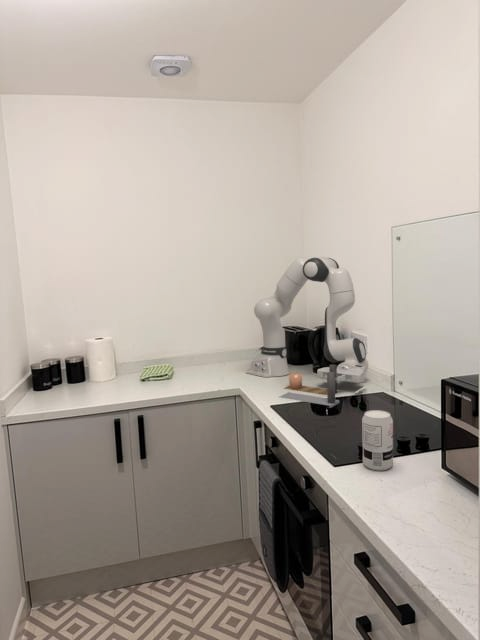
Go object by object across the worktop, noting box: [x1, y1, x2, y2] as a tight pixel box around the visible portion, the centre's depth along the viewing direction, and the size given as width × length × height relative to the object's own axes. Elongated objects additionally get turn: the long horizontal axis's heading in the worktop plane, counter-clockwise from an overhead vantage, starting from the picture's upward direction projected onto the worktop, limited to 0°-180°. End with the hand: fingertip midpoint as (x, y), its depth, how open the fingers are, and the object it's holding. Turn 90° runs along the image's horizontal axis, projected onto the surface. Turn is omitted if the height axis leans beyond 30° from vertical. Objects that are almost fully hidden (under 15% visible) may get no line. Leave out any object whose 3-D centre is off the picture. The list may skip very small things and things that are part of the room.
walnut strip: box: [283, 364, 342, 396], centre depth 212 cm, size 24×8×13 cm, turn 52°
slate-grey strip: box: [278, 372, 340, 409], centre depth 200 cm, size 24×8×13 cm, turn 52°
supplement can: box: [361, 409, 394, 472], centre depth 137 cm, size 8×8×15 cm
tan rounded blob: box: [288, 372, 303, 389], centre depth 217 cm, size 6×6×6 cm
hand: (332, 378), depth 205 cm, fingers closed on walnut strip, 3 cm apart
